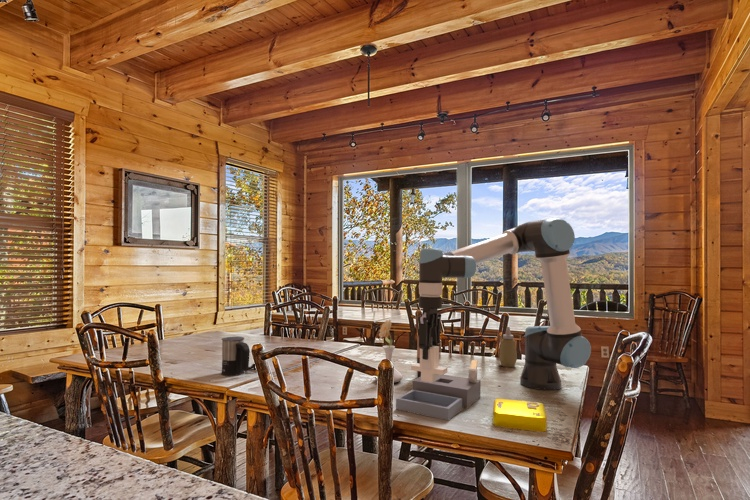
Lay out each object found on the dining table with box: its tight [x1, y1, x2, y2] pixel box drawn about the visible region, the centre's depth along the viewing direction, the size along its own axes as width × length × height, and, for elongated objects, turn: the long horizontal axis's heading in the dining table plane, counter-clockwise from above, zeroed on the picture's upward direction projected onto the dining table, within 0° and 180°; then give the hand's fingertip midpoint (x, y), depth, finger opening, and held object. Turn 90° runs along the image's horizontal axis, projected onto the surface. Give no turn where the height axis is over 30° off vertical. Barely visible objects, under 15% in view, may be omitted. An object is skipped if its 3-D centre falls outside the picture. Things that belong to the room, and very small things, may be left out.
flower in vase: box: [373, 319, 403, 384], centre depth 175 cm, size 13×11×25 cm
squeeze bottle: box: [498, 326, 518, 368], centre depth 205 cm, size 8×8×18 cm
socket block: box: [411, 374, 482, 409], centre depth 155 cm, size 20×14×6 cm
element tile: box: [492, 398, 548, 433], centre depth 134 cm, size 15×15×5 cm
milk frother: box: [220, 336, 256, 377], centre depth 187 cm, size 14×16×15 cm
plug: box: [410, 337, 448, 383], centre depth 143 cm, size 4×11×14 cm, turn 59°
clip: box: [467, 359, 478, 383], centre depth 161 cm, size 18×3×4 cm, turn 165°
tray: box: [395, 389, 463, 421], centre depth 142 cm, size 18×12×4 cm, turn 59°
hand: (429, 367), depth 143 cm, fingers closed on plug, 4 cm apart
